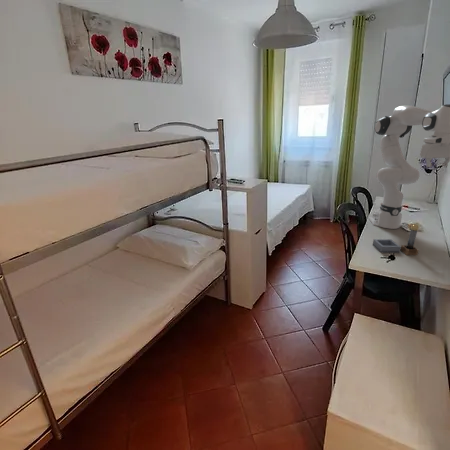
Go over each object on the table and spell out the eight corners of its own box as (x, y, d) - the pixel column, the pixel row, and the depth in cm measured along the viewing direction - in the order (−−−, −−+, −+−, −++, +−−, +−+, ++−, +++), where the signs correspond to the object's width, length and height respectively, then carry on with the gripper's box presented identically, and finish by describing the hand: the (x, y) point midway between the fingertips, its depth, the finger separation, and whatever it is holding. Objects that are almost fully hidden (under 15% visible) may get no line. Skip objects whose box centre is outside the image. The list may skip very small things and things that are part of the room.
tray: (372, 244, 175) (373, 239, 174) (390, 245, 175) (391, 239, 174) (380, 252, 165) (382, 246, 164) (399, 252, 165) (400, 246, 164)
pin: (403, 251, 167) (409, 223, 161) (410, 251, 167) (416, 223, 162) (407, 254, 164) (413, 225, 158) (413, 254, 164) (420, 226, 158)
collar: (400, 250, 168) (401, 245, 167) (411, 250, 168) (412, 245, 167) (406, 255, 163) (407, 249, 162) (417, 255, 163) (418, 250, 162)
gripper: (454, 138, 159) (447, 165, 164) (421, 138, 155) (415, 166, 160) (465, 139, 153) (458, 167, 158) (431, 139, 149) (425, 168, 154)
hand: (436, 166), depth 159 cm, fingers open, 8 cm apart
